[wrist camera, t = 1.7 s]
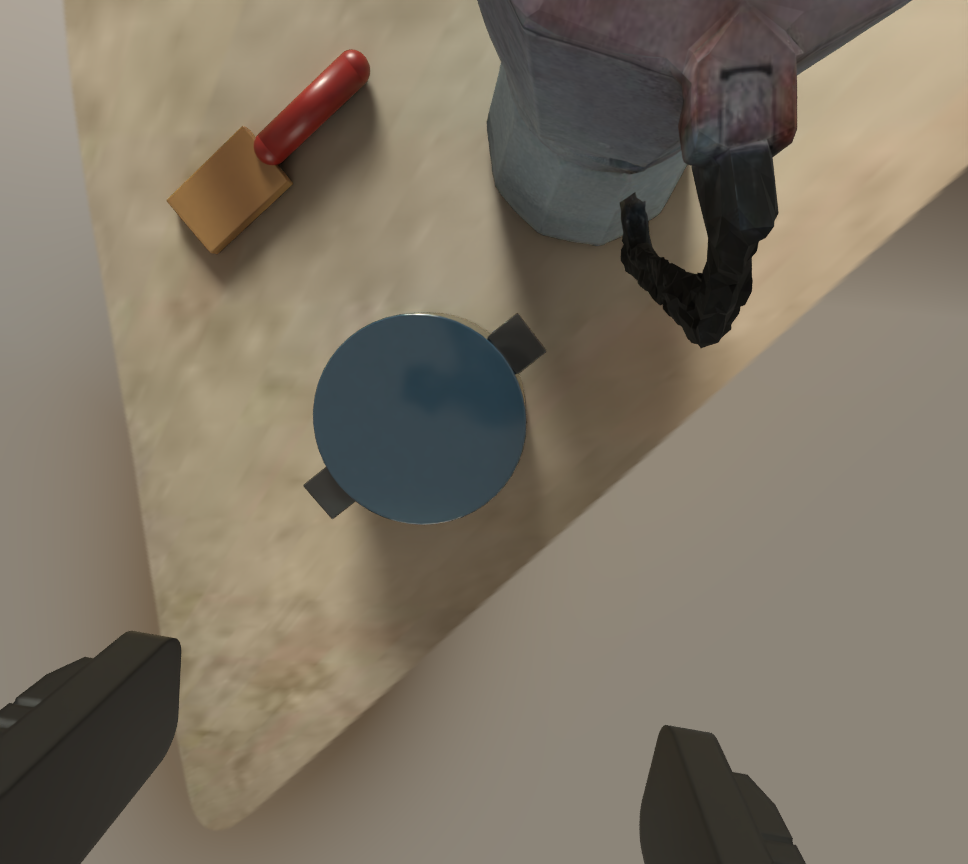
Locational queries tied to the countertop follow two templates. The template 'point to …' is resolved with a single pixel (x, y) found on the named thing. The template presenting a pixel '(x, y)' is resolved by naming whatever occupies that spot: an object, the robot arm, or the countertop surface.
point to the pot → (422, 416)
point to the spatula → (261, 158)
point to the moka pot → (657, 125)
